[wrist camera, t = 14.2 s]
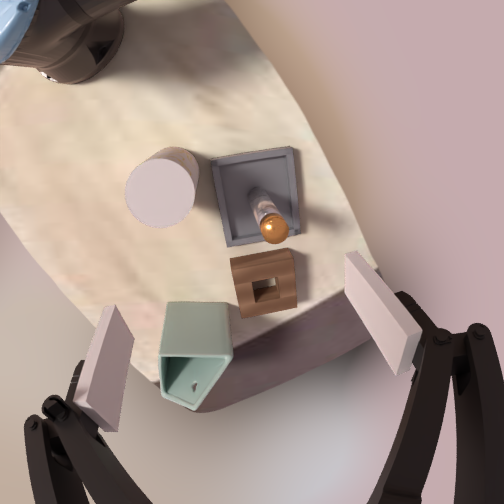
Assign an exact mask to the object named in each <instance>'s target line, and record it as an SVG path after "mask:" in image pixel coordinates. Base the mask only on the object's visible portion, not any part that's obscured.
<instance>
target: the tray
mask: <svg viewBox="0 0 504 504" xmlns="http://www.w3.org/2000/svg"><path fill="white" fill-rule="evenodd" d="M210 161H211V167H212V172H213V178H214V183H215V188H216V193H217V199H218V204H219V209H220V214H221V219H222V224H223V229H224V234H225V239H226V244H227V247H232V246H238V245H243V244H248V243H254V242H259V241H264V240H265V239H264V237H263V235H262V233H261V230H260V228H259V225H258V223H257V220H256V218H255V216H254V213H253V211H252V208H251V206H250V203H249V201H248V193H249V191H250V190H251V189H253V188H255V187H260V188H262V189H264V190H265V191H266V193H267V194H268V196H269V197H270V199H271V200H272V202H273V203H274V205H275V206H276V208H277V209H278V211H279V212H280V214H281V215H282V217H283V218H284V220H285V221H286V223H287V225H288V227H289V234H288V236H292V235H297V234H301V232H300V219H299V208H298V197H297V186H296V176H295V167H294V157H293V149H292V147H290V146H288V147H280V148H272V149H265V150H258V151H252V152H246V153H240V154H234V155H228V156H222V157H217V158H212V159H210Z"/></svg>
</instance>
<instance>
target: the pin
mask: <svg viewBox="0 0 504 504" xmlns="http://www.w3.org/2000/svg"><path fill="white" fill-rule="evenodd" d="M248 201H249V203H250V206H251V208H252V211H253V213H254V216H255V218H256V220H257V223H258V225H259V228H260V230H261V233H262V235H263V237H264V239H265V240H266V241H267V242H268V243H271V244H279V243H281V242H283V241H284V240H285V239H286V238H287V237H288V234H289V227H288V225H287V223H286V221H285V220H284V218H283V217H282V215H281V214H280V212H279V211H278V209H277V208H276V206H275V205H274V203H273V202H272V200H271V199H270V197H269V196H268V194H267V193H266V191H265V190H264V189H262V188H260V187H255V188H253V189H251V190H250V191H249V193H248Z"/></svg>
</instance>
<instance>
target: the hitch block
mask: <svg viewBox="0 0 504 504" xmlns="http://www.w3.org/2000/svg"><path fill="white" fill-rule="evenodd" d="M230 264H231V271H232V276H233V281H234V285H235V290H236V295H237V299H238V304H239V309H240V313H241V318H247V317H253V316H258V315H263V314H268V313H273V312H278V311H282V310H287V309H292V308H296V307H297V296H296V282H295V269H294V258H293V256H292V255H291V253H290V251H289V249H288V248H283V249H278V250H272V251H267V252H262V253H257V254H251V255H246V256H241V257H235V258H230ZM274 277H275V281H276V286H271V287H265V288H260V289H255V290H253V287H252V282H254V281H259V280H264V279H269V278H274Z"/></svg>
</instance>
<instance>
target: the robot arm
mask: <svg viewBox="0 0 504 504" xmlns="http://www.w3.org/2000/svg"><path fill="white" fill-rule="evenodd" d="M134 1H137V0H0V65H13V66H24V67H33V68H36V69H37V70H38V71H39V72H40V73H41V74H42V75H43V76H44V77H45V78H47V79H48V80H50V81H53V82H56V83H63V84H73V83H78V82H82V81H84V80H86V79H88V78H90V77H92V76H94V75H95V74H97V73H98V72H99V71H100V70H102V69H103V68H104V67H105V66H106V65H107V64H108V63H109V62H110V60H111V59H112V58H113V56H114V55H115V53H116V52H117V50H118V48H119V46H120V43H121V41H122V37H123V33H124V21H123V17H122V14H121V12H120V11H119V8H121V7H123V6H125V5H127V4H130V3H132V2H134ZM345 294H346V296H347V297H348V299H349V300H350V302H351V304H352V305H353V307H354V308H355V310H356V311H357V313H358V315H359V316H360V318H361V319H362V321H363V323H364V324H365V326H366V328H367V329H368V331H369V332H370V334H371V336H372V337H373V339H374V341H375V342H376V344H377V346H378V347H379V349H380V351H381V352H382V354H383V356H384V357H385V359H386V361H387V362H388V364H389V366H390V368H391V369H392V371H393V373H394V374H395V376H398V375H400V374H402V373H405V372H407V371H409V370H410V367H411V364H412V363H413V365H414V366H415V368H416V370H415V373H414V375H413V377H412V380H411V381H412V385H411V389H410V393H409V396H408V400H407V403H406V406H405V410H404V414H403V416H402V420H401V423H400V426H399V429H398V432H397V434H396V438H395V440H394V443H393V446H392V449H391V451H390V454H389V456H388V459H387V461H386V464H385V466H384V468H383V471H382V473H381V476H380V478H379V480H378V482H377V484H376V487H375V489H374V491H373V493H372V495H371V497H370V499H369V501H368V503H367V504H421V501H422V499H421V493H422V490H423V487H424V484H425V482H426V479H427V476H428V473H429V470H430V467H431V464H432V460H433V457H434V453H435V450H436V446H437V442H438V439H439V435H440V430H441V426H442V422H443V417H444V413H445V407H446V402H447V396H448V390H449V384H450V377H451V376H452V381H453V389H454V400H455V411H456V412H455V413H456V433H457V463H456V483H455V496H454V504H504V380H503V376H502V371H501V367H500V363H499V359H498V355H497V352H496V348H495V345H494V341H493V338H492V335H491V332H490V330H489V329H488V327H486V326H485V325H483V324H481V323H474V324H472V325H470V326H469V328H468V330H467V332H464V333H457V334H451V333H450V332H449V331H448V330H446V329H442V328H437V327H436V326H435V324H434V323H433V322H432V320H431V319H430V318H429V317H428V316H427V314H426V313H425V312H424V311H423V310H422V309H421V307H420V306H419V305H418V304H416V301H415V300H414V299H413V298H412V297H411V296H410V295H408V294H407V293H405V292H403V291H400V292H397V293H393V292H392V291H391V290H390V289H389V287H388V286H387V285H386V284H385V283H384V281H383V280H382V279H381V278H380V277H379V275H378V274H377V273H376V272H375V271H374V270H373V268H372V267H371V266H370V265H369V264H368V263H367V262H366V260H365V259H364V258H363V257H362V256H361V255H360V254H359V253H358V251H354V252H350V253H346V254H345ZM134 339H135V338H134V337H133V335H132V333H131V332H130V330H129V328H128V326H127V325H126V323H125V321H124V319H123V318H122V316H121V314H120V312H119V310H118V308H117V307H116V305H112V306H107V307H104V310H103V312H102V315H101V317H100V320H99V323H98V325H97V328H96V331H95V334H94V337H93V339H92V342H91V345H90V347H89V350H88V353H87V356H86V359H85V360H81V361H80V362H79V364H78V365H77V366H76V368H75V371H74V374H73V377H72V380H71V383H70V387H69V390H68V393H67V396H66V400H65V401H64V400H63V399H62V398H61V397H60V396H58V395H51V396H49V397H48V398H47V399H46V400H45V401H44V403H43V405H42V413H43V414H44V415H45V416H46V417H48V418H46V419H42V418H40V417H39V416H38V415H31V416H30V417H28V418H27V420H26V422H25V424H24V435H25V446H26V454H27V462H28V468H29V475H30V480H31V486H32V490H33V495H34V499H35V504H89V501H88V498H87V496H86V492H85V490H84V486H83V484H84V485H85V487H86V489H87V490H88V492H89V494H90V495H91V497H92V499H93V500H94V502H95V503H96V504H153V503H152V502H151V501H150V500H149V499H148V498H147V497H146V495H145V494H144V493H143V492H142V491H141V489H140V488H139V487H138V486H137V485H136V483H135V482H134V481H133V480H132V478H131V477H130V476H129V474H128V473H127V472H126V470H125V469H124V468H123V466H122V465H121V464H120V462H119V461H118V460H117V458H116V457H115V455H114V454H113V452H112V451H111V450H110V448H109V447H108V445H107V444H106V442H105V441H104V439H103V437H102V436H101V435H100V434H99V433H98V427H100V428H102V429H103V430H104V431H105V432H118V426H119V419H120V413H121V406H122V400H123V394H124V389H125V383H126V377H127V372H128V367H129V362H130V358H131V353H132V348H133V343H134ZM82 482H83V483H82Z"/></svg>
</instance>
